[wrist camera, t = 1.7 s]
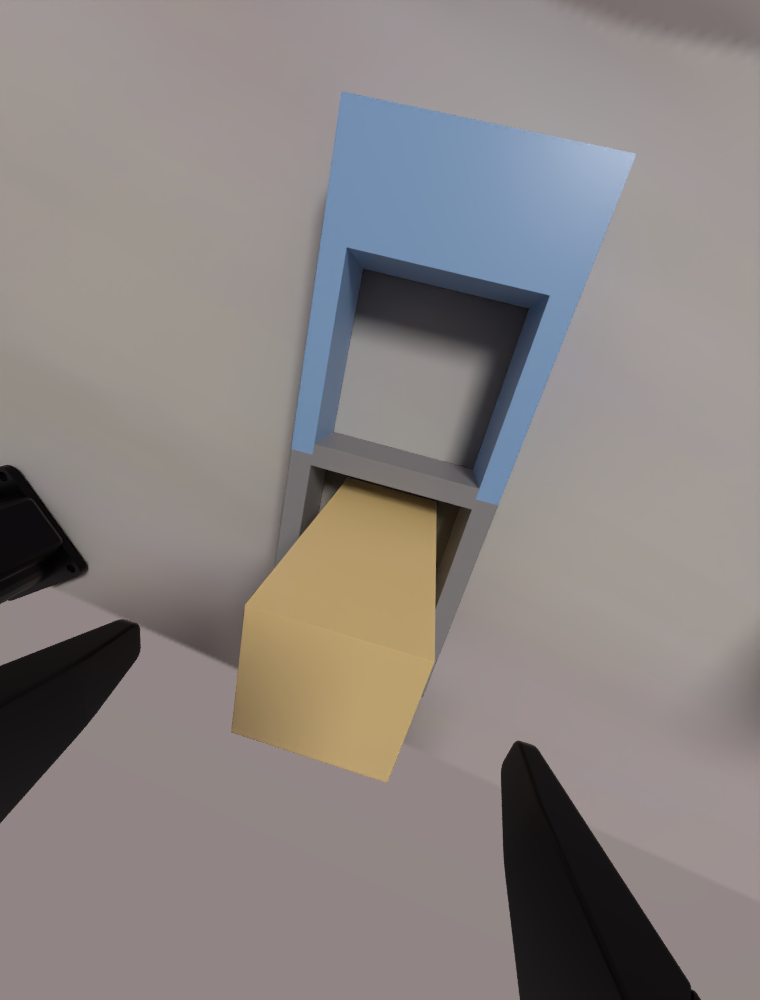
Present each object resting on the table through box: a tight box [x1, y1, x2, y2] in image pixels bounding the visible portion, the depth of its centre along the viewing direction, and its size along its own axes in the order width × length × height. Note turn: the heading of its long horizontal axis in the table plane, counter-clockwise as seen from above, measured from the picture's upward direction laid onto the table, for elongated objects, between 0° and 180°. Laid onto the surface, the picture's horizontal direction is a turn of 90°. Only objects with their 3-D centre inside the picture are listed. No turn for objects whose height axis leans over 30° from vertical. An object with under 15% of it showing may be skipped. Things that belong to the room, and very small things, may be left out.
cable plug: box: [232, 478, 437, 783], centre depth 12 cm, size 4×4×9 cm
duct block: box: [275, 92, 636, 697], centre depth 14 cm, size 19×8×2 cm, turn 167°
